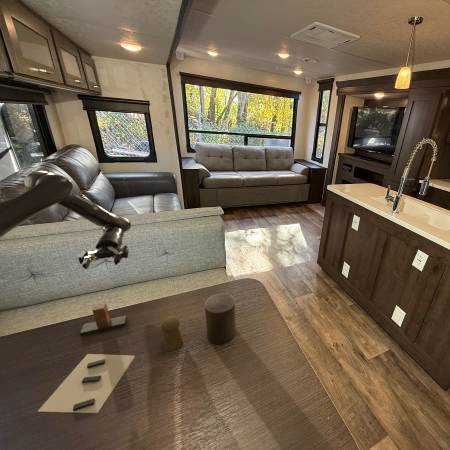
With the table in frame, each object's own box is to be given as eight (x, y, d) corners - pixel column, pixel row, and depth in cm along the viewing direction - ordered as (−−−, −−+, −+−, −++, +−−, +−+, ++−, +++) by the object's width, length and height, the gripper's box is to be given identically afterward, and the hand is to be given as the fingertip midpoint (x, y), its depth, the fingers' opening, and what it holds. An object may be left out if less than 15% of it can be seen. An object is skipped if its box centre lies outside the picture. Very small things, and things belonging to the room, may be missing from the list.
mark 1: (87, 368, 70) (86, 366, 70) (88, 365, 71) (87, 363, 71) (104, 364, 72) (104, 362, 71) (105, 360, 73) (105, 358, 72)
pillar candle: (220, 349, 81) (218, 314, 75) (200, 335, 85) (197, 301, 79) (241, 330, 89) (241, 297, 83) (222, 318, 93) (221, 286, 87)
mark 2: (82, 383, 66) (81, 381, 66) (84, 379, 67) (84, 377, 67) (99, 381, 67) (98, 379, 67) (101, 377, 68) (100, 375, 68)
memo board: (38, 414, 60) (36, 411, 59) (88, 356, 75) (87, 353, 74) (98, 415, 61) (97, 412, 60) (136, 358, 75) (135, 355, 75)
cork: (161, 355, 77) (156, 329, 73) (165, 339, 82) (161, 314, 78) (182, 352, 79) (178, 326, 75) (184, 337, 84) (181, 312, 80)
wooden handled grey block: (81, 338, 80) (73, 315, 76) (85, 329, 83) (77, 306, 79) (126, 328, 85) (120, 305, 81) (127, 320, 88) (122, 298, 84)
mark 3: (73, 411, 60) (72, 409, 60) (75, 406, 61) (74, 404, 61) (94, 404, 62) (93, 402, 62) (95, 400, 63) (94, 398, 63)
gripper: (85, 237, 94) (71, 258, 81) (129, 233, 101) (123, 252, 87) (90, 254, 97) (77, 277, 84) (132, 249, 103) (127, 270, 90)
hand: (100, 264), depth 86 cm, fingers open, 8 cm apart
